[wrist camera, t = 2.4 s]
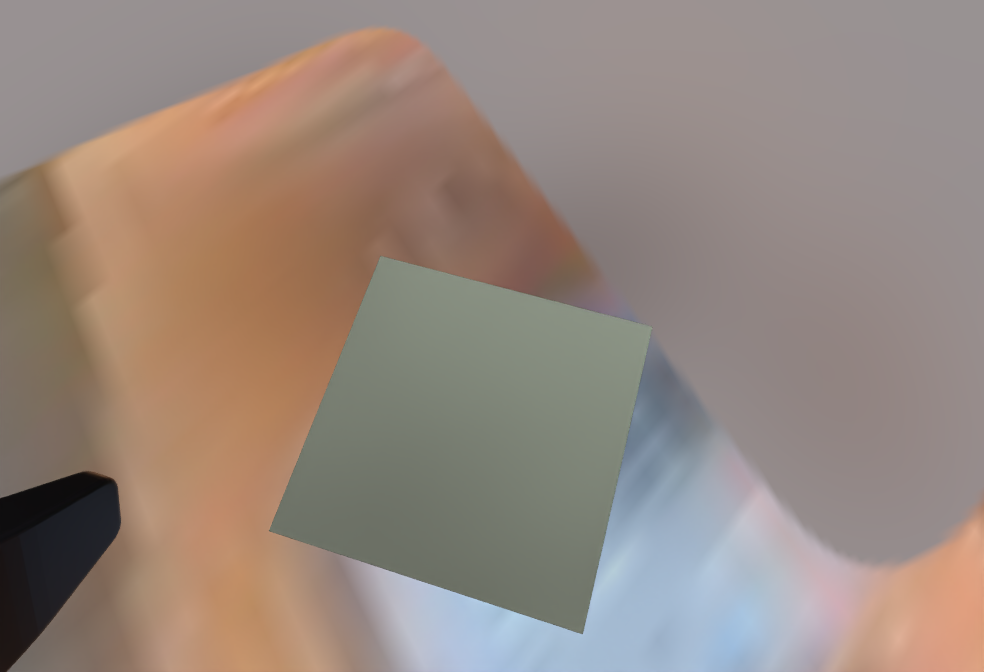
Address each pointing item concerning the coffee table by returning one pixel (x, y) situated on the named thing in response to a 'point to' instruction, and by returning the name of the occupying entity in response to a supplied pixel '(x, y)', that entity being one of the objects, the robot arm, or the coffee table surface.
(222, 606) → the coffee table surface
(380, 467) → the sage block
